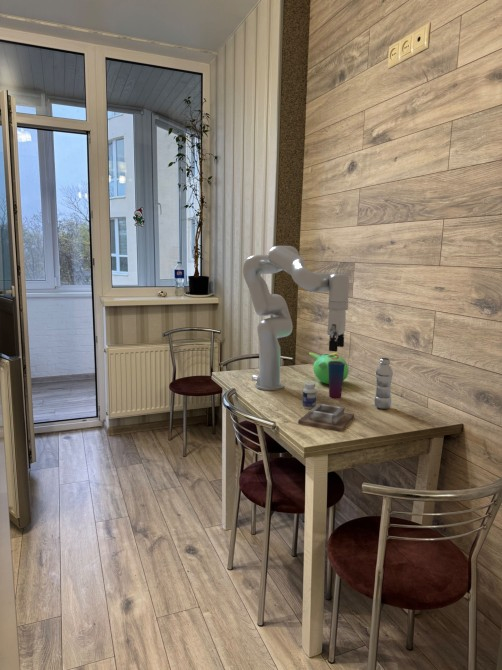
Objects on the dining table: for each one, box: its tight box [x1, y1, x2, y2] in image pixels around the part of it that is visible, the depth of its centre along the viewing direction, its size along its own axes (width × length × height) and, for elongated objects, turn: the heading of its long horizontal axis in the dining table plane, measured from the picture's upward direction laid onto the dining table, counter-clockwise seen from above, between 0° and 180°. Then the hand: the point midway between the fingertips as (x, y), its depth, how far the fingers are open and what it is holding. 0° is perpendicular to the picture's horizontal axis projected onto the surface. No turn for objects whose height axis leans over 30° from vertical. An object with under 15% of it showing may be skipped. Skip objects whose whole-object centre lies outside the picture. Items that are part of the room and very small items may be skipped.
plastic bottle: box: [373, 357, 394, 410], centre depth 186 cm, size 6×7×20 cm
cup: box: [328, 361, 345, 399], centre depth 200 cm, size 7×7×15 cm
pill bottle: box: [301, 381, 317, 410], centre depth 187 cm, size 5×5×10 cm
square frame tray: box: [297, 403, 355, 432], centre depth 173 cm, size 16×16×4 cm
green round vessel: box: [308, 352, 350, 385], centre depth 221 cm, size 18×17×15 cm
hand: (336, 348), depth 187 cm, fingers open, 9 cm apart
